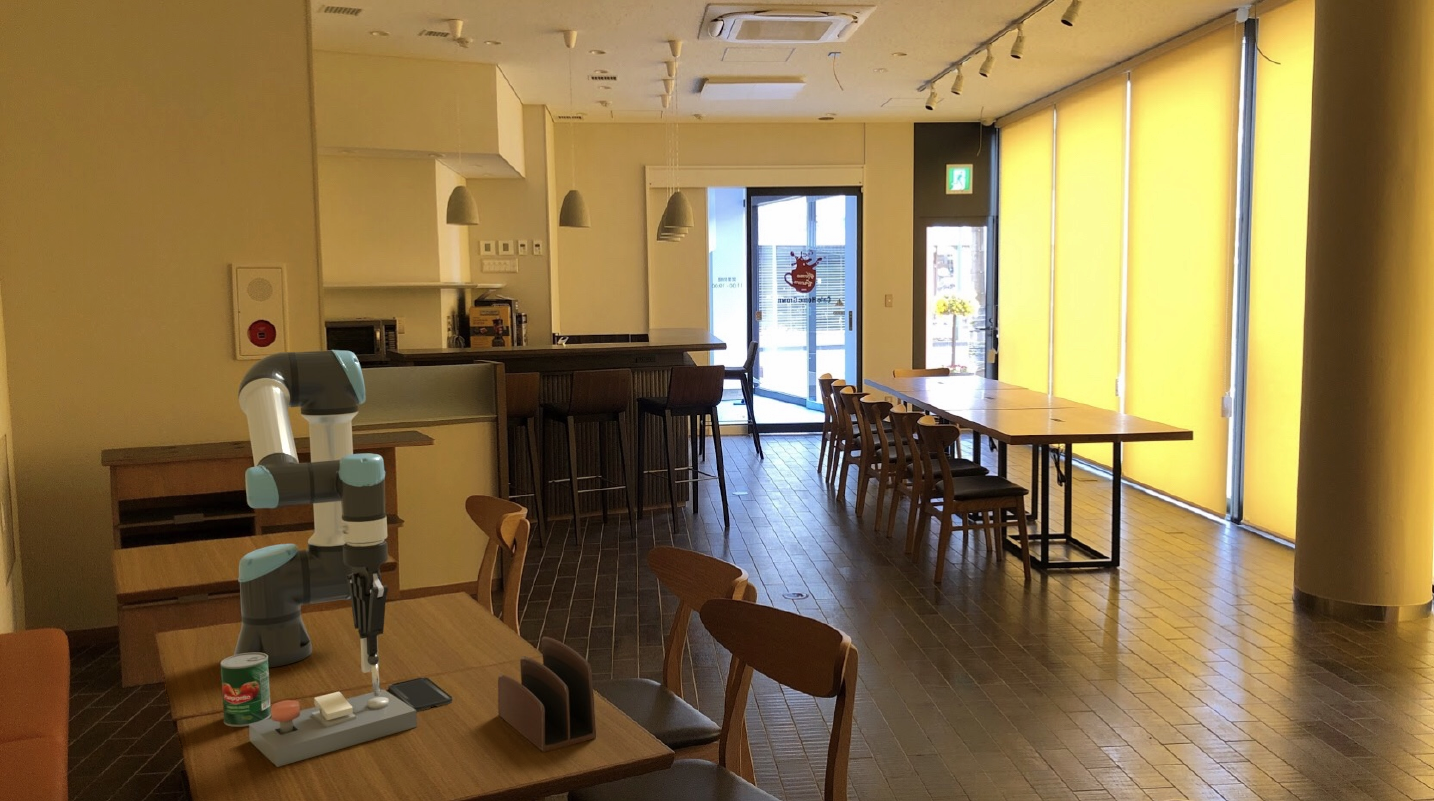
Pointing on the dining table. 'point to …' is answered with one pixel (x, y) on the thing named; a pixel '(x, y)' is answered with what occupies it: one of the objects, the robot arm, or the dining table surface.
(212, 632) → the dining table surface
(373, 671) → the toggle lever
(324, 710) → the rocker switch
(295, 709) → the push button
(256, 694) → the canned tomato
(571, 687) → the letter holder
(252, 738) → the control panel
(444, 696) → the phone
